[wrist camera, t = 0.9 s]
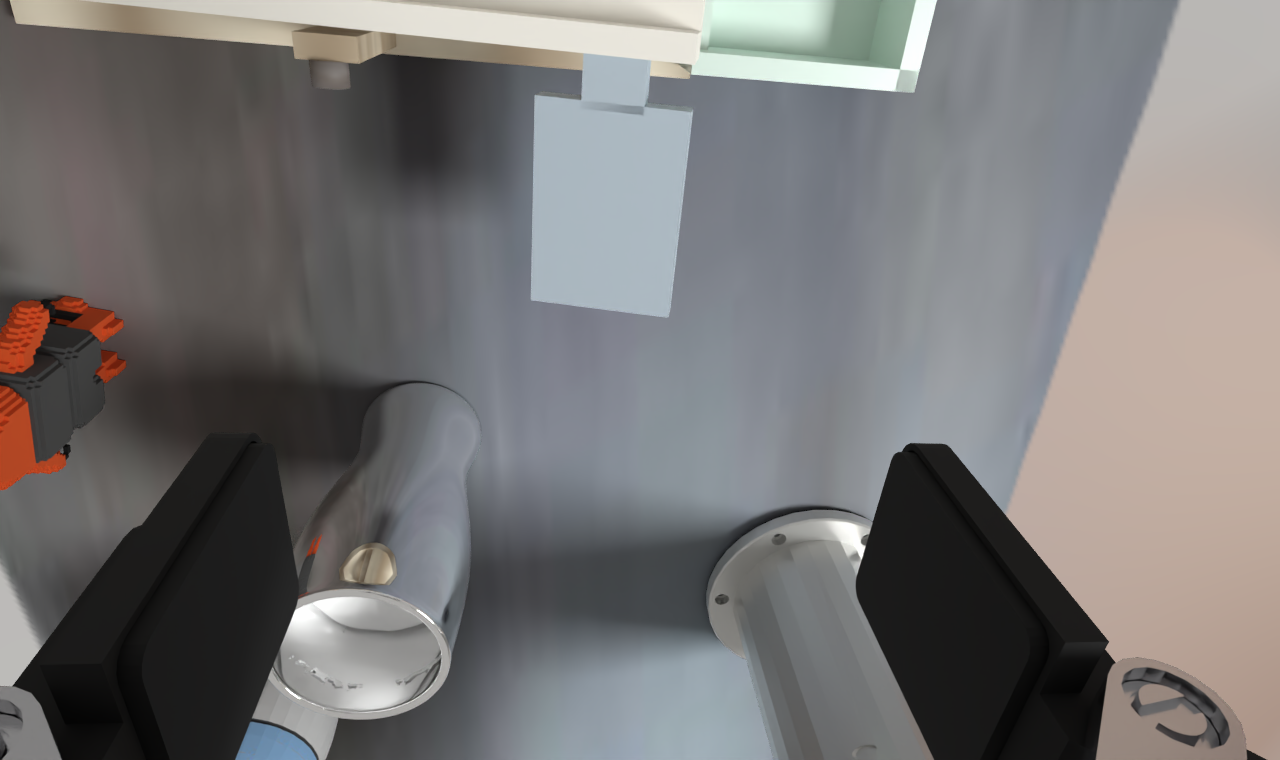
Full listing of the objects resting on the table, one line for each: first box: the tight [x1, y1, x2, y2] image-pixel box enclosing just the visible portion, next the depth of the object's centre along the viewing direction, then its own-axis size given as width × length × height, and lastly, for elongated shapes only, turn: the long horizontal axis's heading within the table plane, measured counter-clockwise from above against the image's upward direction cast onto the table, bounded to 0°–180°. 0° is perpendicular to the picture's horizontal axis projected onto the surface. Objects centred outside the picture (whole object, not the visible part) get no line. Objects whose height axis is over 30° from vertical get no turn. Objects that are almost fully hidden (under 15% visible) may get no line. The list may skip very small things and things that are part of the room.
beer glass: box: [268, 383, 482, 720], centre depth 33 cm, size 7×7×15 cm
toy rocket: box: [235, 679, 338, 760], centre depth 38 cm, size 10×11×15 cm
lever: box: [82, 0, 706, 318], centre depth 24 cm, size 24×14×5 cm, turn 85°
